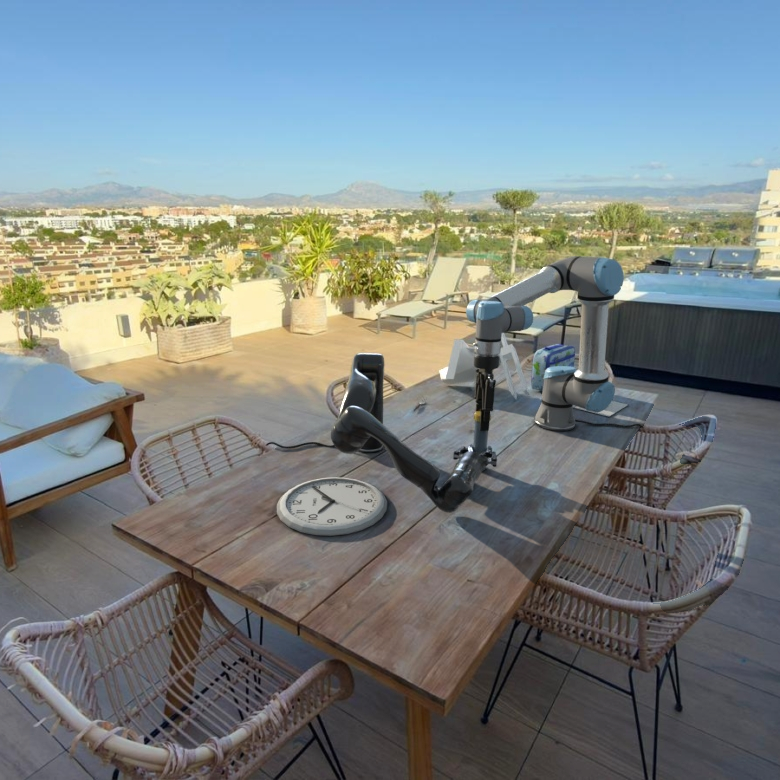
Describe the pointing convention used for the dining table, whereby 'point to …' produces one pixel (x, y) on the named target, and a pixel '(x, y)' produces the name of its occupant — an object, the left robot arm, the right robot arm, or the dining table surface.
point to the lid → (478, 415)
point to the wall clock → (331, 506)
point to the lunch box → (550, 362)
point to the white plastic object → (465, 370)
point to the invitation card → (608, 408)
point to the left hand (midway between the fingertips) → (481, 447)
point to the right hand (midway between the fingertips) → (481, 426)
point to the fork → (420, 403)
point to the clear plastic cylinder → (480, 439)
